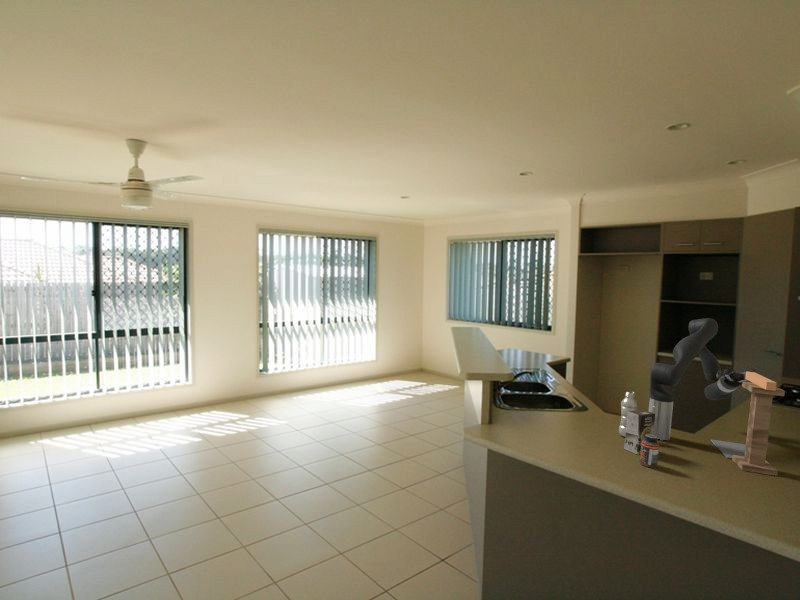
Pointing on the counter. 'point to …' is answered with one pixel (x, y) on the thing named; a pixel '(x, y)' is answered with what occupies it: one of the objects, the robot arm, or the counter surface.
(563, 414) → the counter surface
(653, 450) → the supplement bottle
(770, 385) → the terracotta bar
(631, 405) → the plastic bottle
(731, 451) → the rubber mat
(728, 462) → the counter surface
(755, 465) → the walnut stand
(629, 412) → the coffee box
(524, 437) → the counter surface
